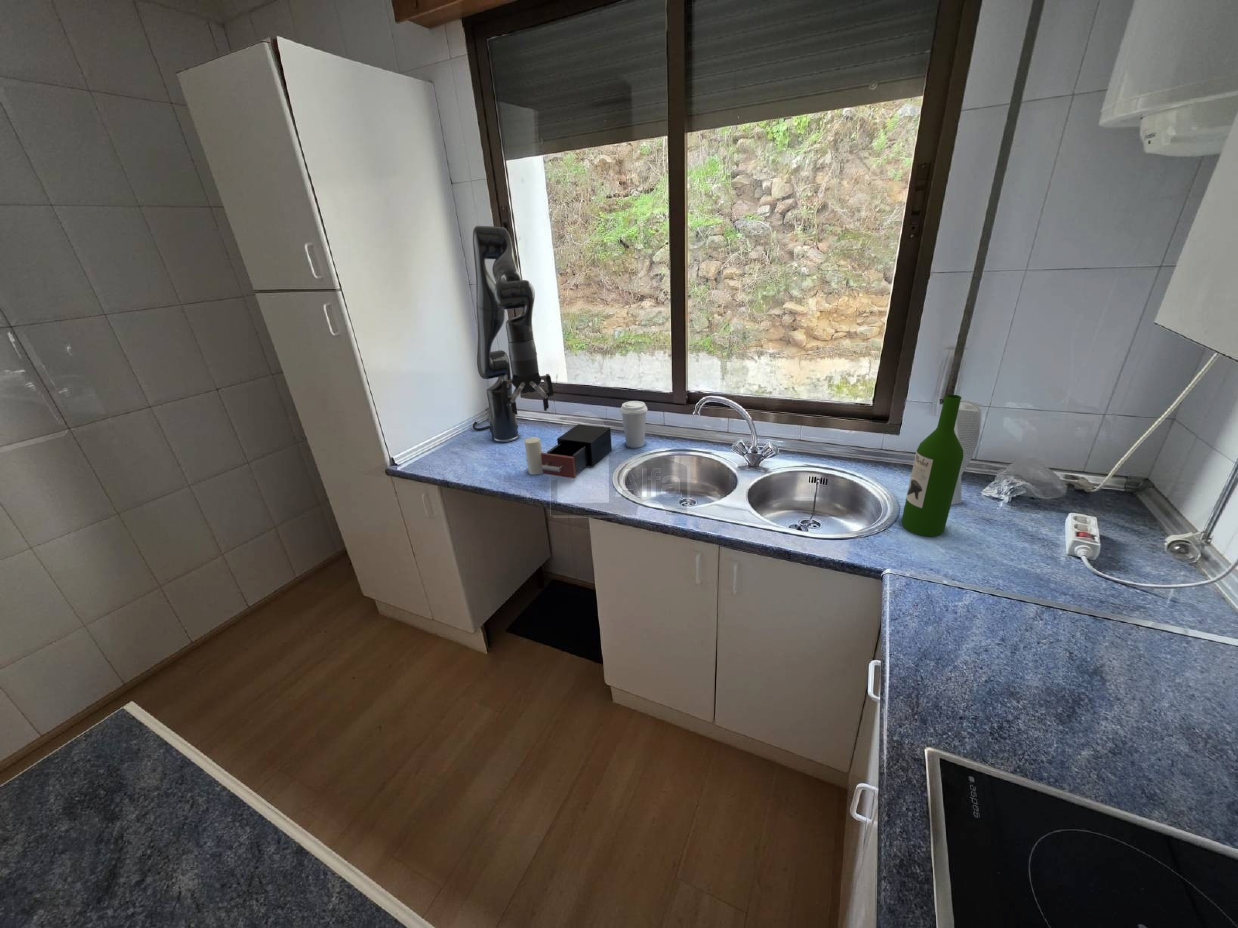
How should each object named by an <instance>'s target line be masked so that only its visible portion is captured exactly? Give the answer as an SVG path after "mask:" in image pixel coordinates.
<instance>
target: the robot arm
mask: <svg viewBox="0 0 1238 928" xmlns="http://www.w3.org/2000/svg"><path fill="white" fill-rule="evenodd" d="M472 249H473V250H472V251H473V261H474V272H475V306H476V307H475V308H476V309H475V310H476V322H477V324H476V326H477V347H476V369H477V372H478V374H479V377H480V378H481V379H484V380H491V379H496V378H497V379H496V381H495V382H493V384H491V385H490V386H488V387H487V388H486V398H487V404H488V409H489V415H488V423H489V425H487V426H483V427H476V425H478V421H477V422H476V421H474V422H473V423H472V429H473V430H474V431H477V432H478V431H479V432H480V431H484V430H488V429H489V430H490V433H491V440H492V441H494V442H496V443H509V442H510V443H511V442H514V441H516V440H518V439H519V438H520V434H519V429H518V428H519V425H518V422H517V421H518V420H517V416H518V415H519V413H518V407H517V402H516V400H517V398H518V397H519V396H520V394H528V393H534V392H537V393H538V394H539V395H540V396H541V398H542V406H543V411H545V412H547V411H548V409H549V408H550V405H549V397H552V396H554V387H553V383H552V377H551V374H549V373H546V374H545V375H540V370H539V361H538V353H537V349H536V344H535V339H534V331H533V311H534V305H535V299H536V291H535V288H534V285H533V284H532V282H531V281H530V280H527V279H522V276H521V273H520V271H519V269H518V267H517V264H516V260H515V258H516V257H515V253H514V247H513V243H512V238H511V235H510V233H509V231H508V230H507V228H505V227H503V226H494V225H476V226H474V228H473V229H472ZM486 260H494V261H493V264H492V268H491V269H492V270H491V271H492V275H493V278H492V276H491V274H490V272H489V270H488V267H487V265H486ZM516 309H522V310H521V313H520V314H519V315H517V316H514V317H511V318H509V319H507V320H506V310H508V311H509V310H516ZM505 320H506V322H505ZM504 324H505V329H506V330H505V331H506V337H507V344H508V354H507V352H506V351H505V350H502V349H499V350H493V351H491V350H492V346H493V343H494V341H495V339H496V337H497V336H498V334H499V332H500V331H501V329H502V327H503V326H504ZM542 381H543V382H544V384H546V387H547V391H545V390H544V389H543V388H542V387H541V386H540V384H541V383H542ZM513 387H514V390H513Z"/></svg>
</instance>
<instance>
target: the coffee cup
mask: <svg viewBox="0 0 1238 928" xmlns="http://www.w3.org/2000/svg"><path fill="white" fill-rule="evenodd" d="M619 412H620V413H621V418H622V424H623V425H622V426H623V430H624V438H625V439H624V440H625V445H626V447H628V448H632V449H638V448H642V447H643V446H645V441H646V440H645V439H646V422H647V419H646V418H647V412H648V406H647V405H646V403H645V402H644V401H639V400H630V401H626V402H623V403H622V404H621V407H620V410H619Z"/></svg>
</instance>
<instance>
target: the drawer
mask: <svg viewBox="0 0 1238 928" xmlns="http://www.w3.org/2000/svg"><path fill="white" fill-rule="evenodd" d="M541 460H542V469H543V473H542V474H544V475H551V476H557V477H562V478H568V479H569V478H570V479H576V478H577V474H578V473H580V471H582V470H583V469H584V468H585V467H587V466H586V465H588V464H589V463H590V453H589V445H586V444H579V443H571V442H563V441H562V442H560V443H559V444H558V443H557V444H556V445H554V446H553V447H551V448H550V449H549V450H547V451H546V452H542V453H541Z"/></svg>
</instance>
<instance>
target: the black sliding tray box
mask: <svg viewBox="0 0 1238 928" xmlns="http://www.w3.org/2000/svg"><path fill="white" fill-rule="evenodd" d="M611 433H612V432H611V427H607V426H599V425H590V424H581V423H580V424H579V423H578V424H576V425H575V426H573V427H572V428H571V429H569V430H568V431H566V432H564V433H563V434H561V435H560V436H559V437H557V438H556V441H557V445H558V444H559V443H560V442H562V441H563V442H571V443H579V444H586V445H589V453H590V463H589V464H588V465H586V466H585V467H589V468H593V467H595V466H596V465H597V464H598V463H600V461H602V460H603V459H605V457H606V456H608V455H609V454H610V453H611V452H612V450H613V447H612V434H611Z"/></svg>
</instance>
